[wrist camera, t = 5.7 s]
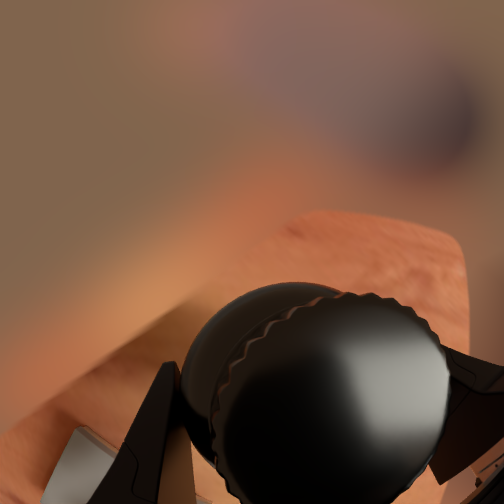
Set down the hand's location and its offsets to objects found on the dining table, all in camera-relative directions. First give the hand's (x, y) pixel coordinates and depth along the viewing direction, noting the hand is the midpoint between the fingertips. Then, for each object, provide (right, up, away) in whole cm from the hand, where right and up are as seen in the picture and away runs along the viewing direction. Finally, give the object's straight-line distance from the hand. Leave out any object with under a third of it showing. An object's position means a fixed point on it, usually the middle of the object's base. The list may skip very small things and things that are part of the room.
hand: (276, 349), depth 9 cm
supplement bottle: (0, -4, +6) cm, 7 cm away
